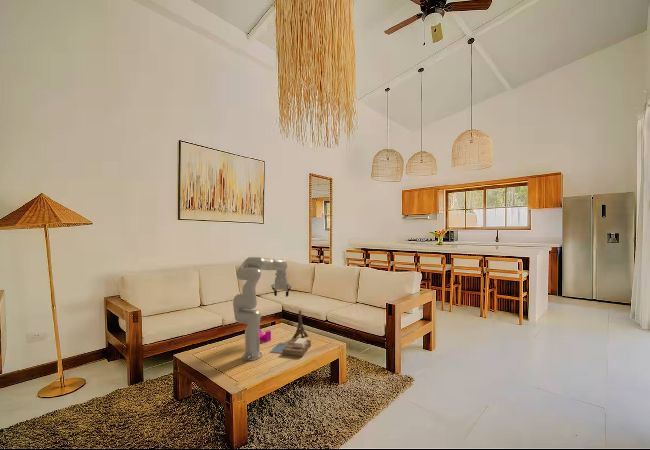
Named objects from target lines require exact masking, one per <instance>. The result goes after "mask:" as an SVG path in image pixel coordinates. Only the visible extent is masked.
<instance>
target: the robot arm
mask: <svg viewBox="0 0 650 450" xmlns="http://www.w3.org/2000/svg"><path fill="white" fill-rule="evenodd" d="M287 269H288V263H287V261H286V259H273V258H266V257H256V256H250V257H249V256H248V257H247V258H246V259H245V260H244V261H243V262H242V263H241V265H240V266H239V267H238V269H237V270H236V278H237V279H238V280H240V281H245V283H244V284H243V286H242V288H241V289H242V293H238V294H235V296H234V297H233V301H232V306H233V314H234V320H235V321H236V322H237V323H239V324H245V325H247V326H246V328H245V330H244V349H245V352H244V353H243V354H242V360H245V361H255V360H258V359H259V360H260V359H261V358H262V357H263V353H262V352H261V351H260V350H261V348H260V347H261V346H260V344H261V343H260V342H261V341H259V327H260V325H261V324H260V323H261V317H262V316H261V312H260V311H259V310H257V309H256V308H257V303H258V300H257V294H256V293H257V292H256V287H257V284H258V283H259V280H260V278H261V276H262V271H276V273H274V275H275V279H274V283H273V284H272V285H270V287H271V288H272V289H271V290H273V295H274V297H277V296H278V291H277V290H279V291H280V290H282V291H286V292H285V297H286V298H288V297H289V291H291V289H292V287H293V286H292V285H290V284H289V283H288V277H287V271H286V270H287ZM261 270H262V271H261Z"/></svg>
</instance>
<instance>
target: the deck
mask: <svg viewBox="0 0 650 450" xmlns="http://www.w3.org/2000/svg"><path fill="white" fill-rule="evenodd" d="M292 338H293V337H292ZM292 338H291V339H290V341H289V342H288V343H286V344H287V345H286V346H285V347H284V348H283V354H282V356H284V357H285V356H287V357H295V358H303V357H304V356H305V354H306V353H307V352H308V350H309V349H310V348H311V346H312V340H311V339H307V343H306V344H305V346H304V347H303V348H299V347H294V343H295V341H296V340H297V339H298V338H296V339H295V338H293V339H292Z"/></svg>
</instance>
